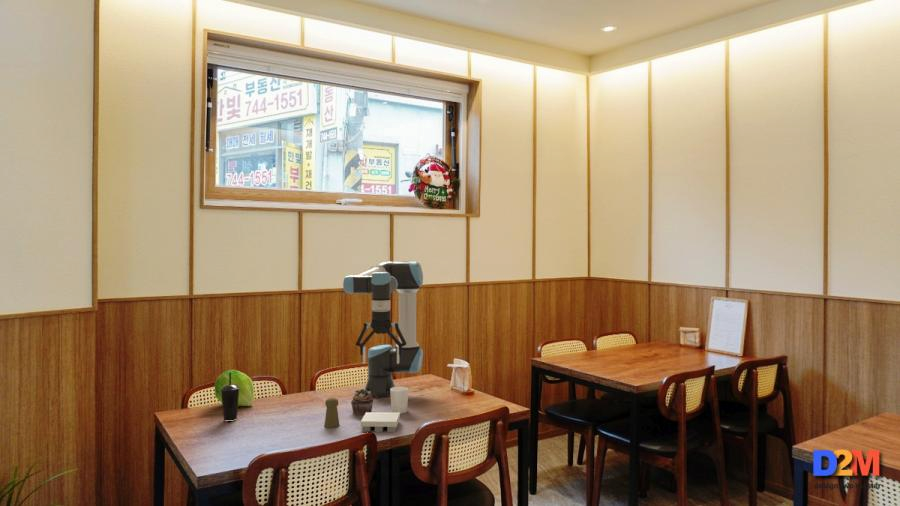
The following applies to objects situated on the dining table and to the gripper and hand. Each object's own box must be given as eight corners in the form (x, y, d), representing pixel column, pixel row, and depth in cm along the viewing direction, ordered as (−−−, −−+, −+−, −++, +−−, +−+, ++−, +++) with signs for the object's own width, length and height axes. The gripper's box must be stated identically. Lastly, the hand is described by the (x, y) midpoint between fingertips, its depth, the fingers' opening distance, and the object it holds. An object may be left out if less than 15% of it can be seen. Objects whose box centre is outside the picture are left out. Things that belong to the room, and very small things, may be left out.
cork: (325, 423, 235) (325, 396, 235) (340, 423, 235) (340, 396, 235) (323, 428, 229) (323, 400, 229) (338, 427, 229) (338, 400, 229)
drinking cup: (244, 418, 242) (243, 371, 241) (231, 424, 234) (231, 375, 234) (229, 416, 244) (228, 369, 244) (216, 422, 237) (216, 373, 237)
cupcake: (377, 411, 252) (377, 388, 252) (365, 417, 243) (365, 393, 243) (359, 408, 256) (359, 386, 256) (346, 414, 247) (346, 391, 247)
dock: (366, 421, 237) (366, 412, 237) (400, 422, 236) (399, 412, 236) (360, 431, 225) (360, 421, 225) (396, 431, 224) (396, 421, 224)
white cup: (405, 414, 247) (405, 391, 246) (388, 413, 248) (387, 390, 248) (410, 409, 254) (410, 386, 254) (393, 408, 256) (393, 386, 256)
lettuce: (231, 416, 249) (254, 386, 252) (198, 389, 254) (221, 360, 257) (248, 418, 265) (270, 389, 268) (217, 392, 271) (239, 365, 274)
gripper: (348, 311, 227) (348, 365, 228) (411, 311, 227) (411, 364, 228) (351, 309, 235) (351, 361, 235) (412, 309, 235) (412, 361, 235)
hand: (381, 363), depth 231 cm, fingers open, 13 cm apart
